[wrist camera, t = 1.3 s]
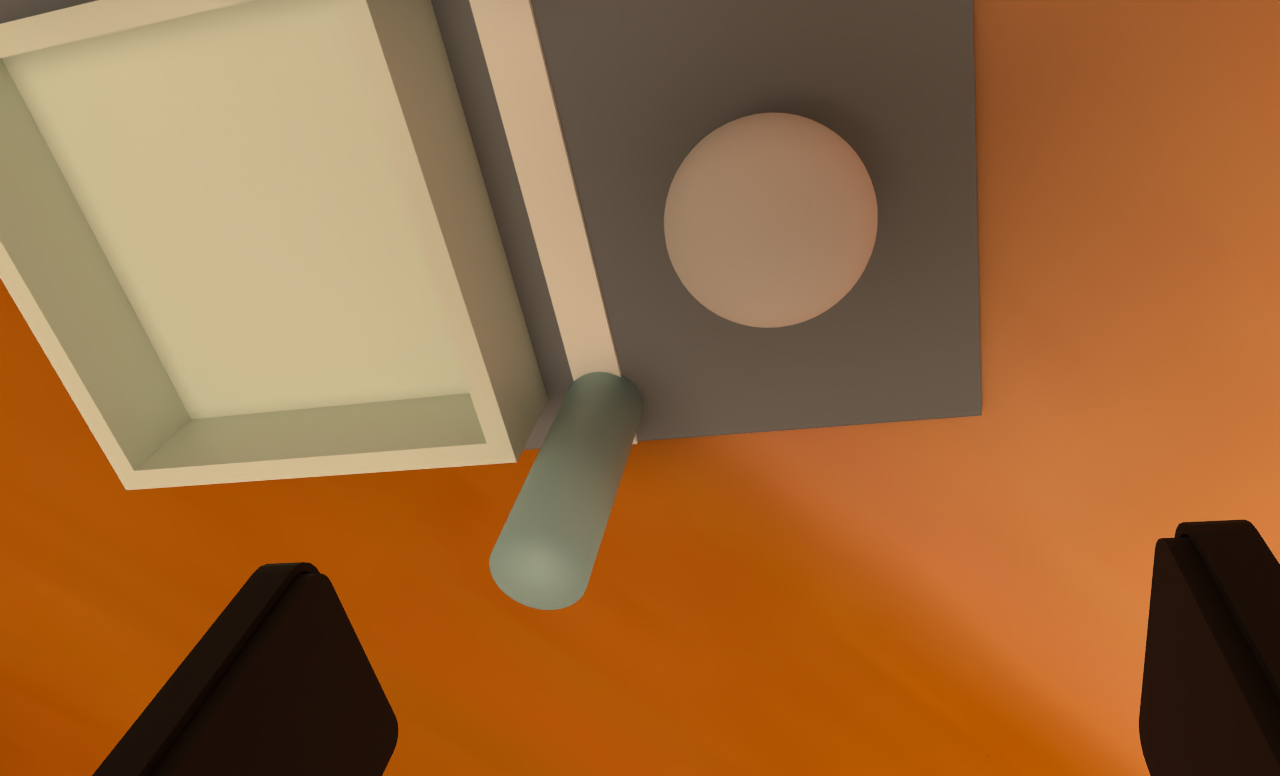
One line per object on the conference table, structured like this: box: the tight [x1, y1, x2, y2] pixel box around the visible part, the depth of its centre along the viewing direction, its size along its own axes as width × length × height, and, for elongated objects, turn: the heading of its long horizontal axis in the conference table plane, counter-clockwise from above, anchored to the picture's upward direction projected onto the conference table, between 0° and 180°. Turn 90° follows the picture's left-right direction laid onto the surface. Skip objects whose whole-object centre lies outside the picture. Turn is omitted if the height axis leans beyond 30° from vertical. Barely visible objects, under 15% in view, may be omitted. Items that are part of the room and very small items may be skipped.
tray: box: [0, 0, 548, 490], centre depth 25 cm, size 13×13×3 cm
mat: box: [0, 0, 982, 450], centre depth 25 cm, size 17×27×1 cm, turn 102°
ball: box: [664, 112, 878, 328], centre depth 21 cm, size 5×5×5 cm
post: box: [489, 372, 643, 610], centre depth 24 cm, size 2×2×8 cm
